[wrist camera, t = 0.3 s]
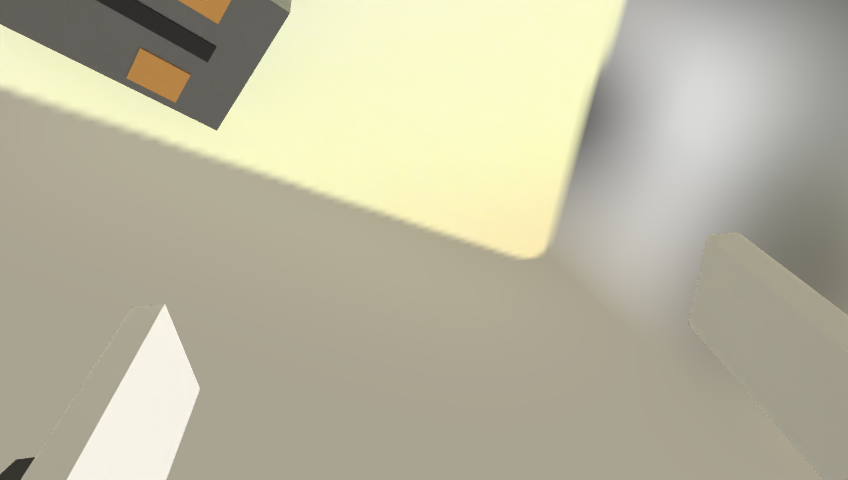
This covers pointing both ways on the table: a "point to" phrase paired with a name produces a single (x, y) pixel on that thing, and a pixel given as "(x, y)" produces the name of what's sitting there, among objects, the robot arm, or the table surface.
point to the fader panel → (159, 44)
